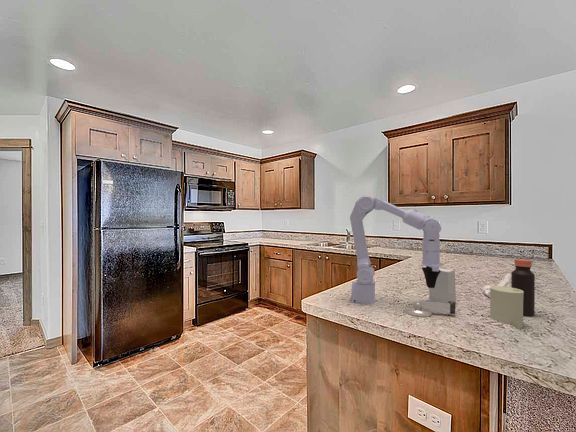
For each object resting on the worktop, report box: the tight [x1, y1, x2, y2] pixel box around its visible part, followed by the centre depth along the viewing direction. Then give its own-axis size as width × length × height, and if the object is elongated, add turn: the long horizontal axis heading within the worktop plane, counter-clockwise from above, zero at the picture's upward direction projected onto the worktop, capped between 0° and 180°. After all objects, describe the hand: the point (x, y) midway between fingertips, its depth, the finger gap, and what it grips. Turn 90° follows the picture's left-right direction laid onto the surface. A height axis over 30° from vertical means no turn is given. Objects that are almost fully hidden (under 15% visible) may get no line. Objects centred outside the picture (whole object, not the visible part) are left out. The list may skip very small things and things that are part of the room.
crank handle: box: [403, 299, 456, 318], centre depth 102 cm, size 17×9×5 cm, turn 76°
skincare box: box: [428, 267, 457, 305], centre depth 115 cm, size 8×6×15 cm
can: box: [489, 285, 525, 329], centre depth 97 cm, size 9×9×12 cm
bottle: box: [510, 258, 536, 317], centre depth 107 cm, size 7×7×20 cm
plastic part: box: [481, 272, 511, 299], centre depth 129 cm, size 8×10×12 cm
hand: (430, 287), depth 107 cm, fingers closed
